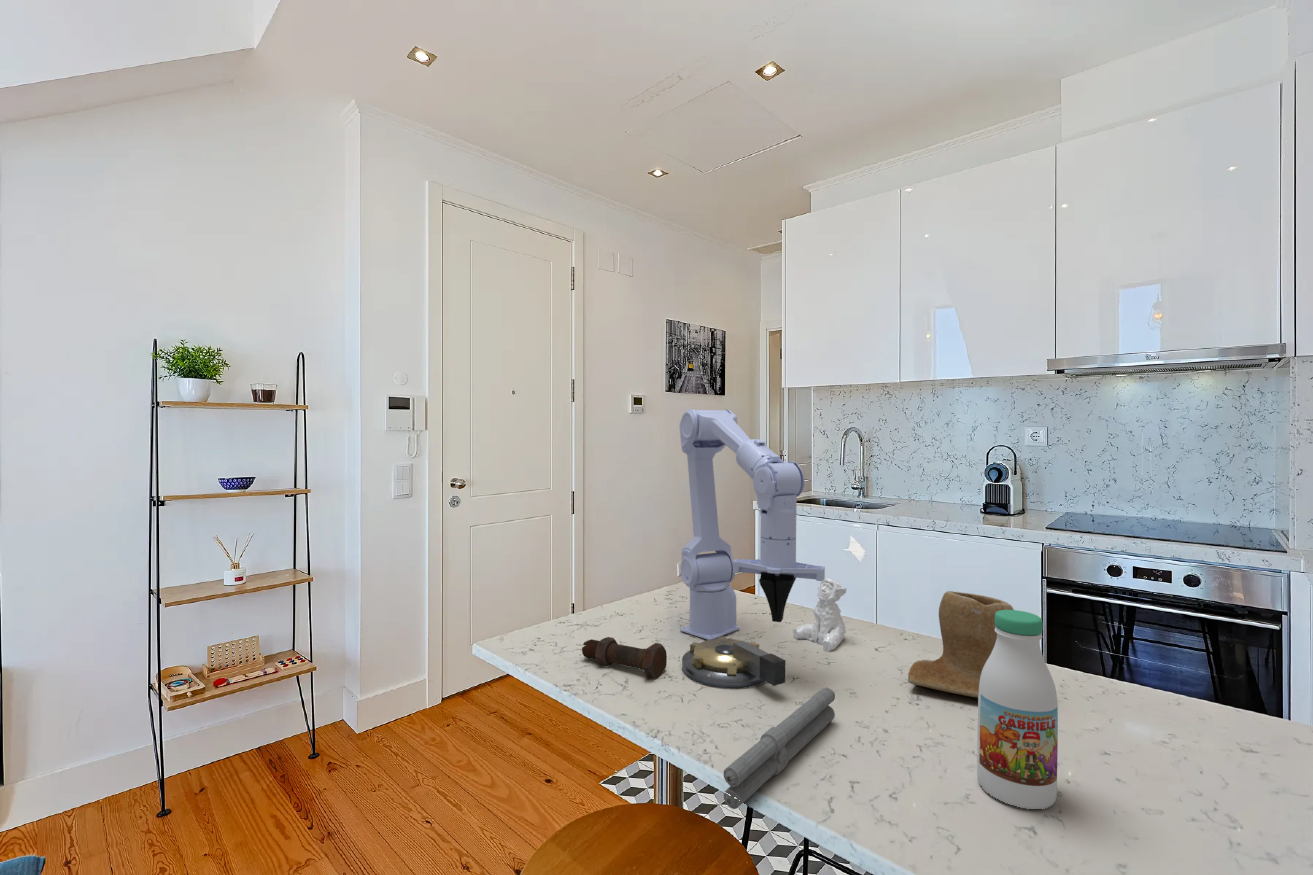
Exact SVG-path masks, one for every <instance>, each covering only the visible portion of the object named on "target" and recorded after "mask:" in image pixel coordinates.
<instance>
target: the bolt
mask: <svg viewBox="0 0 1313 875" xmlns="http://www.w3.org/2000/svg"><path fill="white" fill-rule="evenodd" d="M582 645H583V646H582V648H581V652H582V653H581V654H582V655H583V656H584V658H587V659H591V660H595V661H596V663H597V664H598V665H599V666H600V667H604V666H605V667H606V668H607V666H608V667H610V666H612V665H614V664H615V665H619V666H623V667H629V668H634V669H638V670H641V671H643V672H644V675H645V677H646V679H649V680H654V681H655V680H656V679H659V678H660V677H661V676H663V674H664V672H665V670H666V669H667V664H668V663H667V662H668V660H667V658H668V656H667V650H666V648H665V647H664V645H663V643H661V642H660V643H658V642H654V643H653V644H651V645H650V646H648V647H647V648H640V647H636V646H635V647H634V646H630V645H626V644H625V645H624V644H619V643H618V642H617V640H616V639H615V637H611V636H607V637H604V638H602V639H600V640H598V639H597V640H596V639H587V640H586V641H584V642H583V644H582Z"/></svg>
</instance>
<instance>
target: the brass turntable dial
mask: <svg viewBox="0 0 1313 875" xmlns="http://www.w3.org/2000/svg"><path fill="white" fill-rule="evenodd" d="M689 650H690V653H691V654H694V656H692V666H694V667H695V668H701V667H703V668H706V669H709V670H712V671H717V672H727V675H736V672H744V671H750V672H752V673H753V674H755V675H757V676H759V677H760V679H762V680H764V681H766V682H765V683H767V684H769V685H771V686H773V687H775V686H778V685H783V684H786V671H787V670H786V662H787V661H786V659H784V658H782V657H780V656H777V655H775V654H774V653H769V652H767V651H765V650H763V649H761V648H760V644H759V643H757V642H755V641H753V642H748V641H745V640H740V639H734V638H727V636H721V637H718V638H716V639H712V640H707V639H706V640H704V641H703V640H702V641H701V642H695V641H694V642H691V644H690V645H689Z"/></svg>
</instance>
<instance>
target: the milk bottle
mask: <svg viewBox="0 0 1313 875" xmlns="http://www.w3.org/2000/svg"><path fill="white" fill-rule="evenodd" d="M1043 625H1044V624H1043V620H1042V618H1041V616H1038V615H1037V614H1035V613H1031V612H1028V611H1023V610H1017V609H1014V610H1000V611H997V612H996V613H995V632H996V633H997V639H996V643H995V646H994V648H993V651H992V653H991V655H990V656H989V658H988V660H987V661H986V663H985V665H984V667H983V670H982V673H981V676H980V682H979V696H978V698H977V700H978V701H977V702H978V703H977V738H976V739H977V741H976V742H977V744H976V745H977V747H976V748H977V749H976V750H977V754H976V756H977V757H976V763H977V766H976V768H977V769H976V772H977V773H976V774H977V781H978V783H979V786H980V787H981V786H982V787H981V789H983V791H984V792H985V793H987V794H988V793H989V794H990V795H989V794H988V795H989V796H991V797H992V796H993V797H992V798H994V797H995V798H996V800H997V799H999V800H1001V801H1004V802H1007V803H1009V804H1012V805H1014V806H1017V807H1016V808H1018V807H1021V808H1020V809H1023V808H1027V809H1026V810H1029V809H1042V810H1045V809H1044V808H1046V809H1049V808H1051V807H1052V806H1053V805H1054V804H1055V802H1056V800H1057V796H1058V795H1057V794H1058V793H1057V790H1058V751H1059V749H1058V742H1059V741H1058V740H1059V738H1058V736H1059V732H1058V731H1059V730H1058V728H1059V723H1058V720H1059V717H1058V716H1059V712H1058V711H1059V710H1058V707H1059V706H1058V694H1057V689H1056V688H1057V687H1056V685H1055V681H1054V679H1053V676H1052V675H1051V674H1052V673H1051V672H1050V670H1049V668H1048V666H1047V664H1046V661H1045V658H1044V656H1043V652H1042V649H1041V646H1040V645H1041V643H1040V642H1041V641H1040V640H1042V639H1043V635H1042V634H1043V629H1044V626H1043ZM995 798H994V799H995ZM999 800H998V801H999ZM1001 801H1000V802H1001ZM1051 805H1052V806H1051ZM1014 806H1013V807H1014ZM1050 806H1051V807H1050ZM1048 807H1049V808H1048Z"/></svg>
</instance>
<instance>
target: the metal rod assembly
mask: <svg viewBox="0 0 1313 875" xmlns="http://www.w3.org/2000/svg"><path fill="white" fill-rule="evenodd" d="M835 699H836V695H835V691H834V690H833V689H832V688H830V687H823V688H821V689H820V690H819V691H818V692H816V693H815V694H813V696H812V697H811V698H810V699H808V700H807V701H805V702H804V703H803V704H802V705H801V706H799V707H798V708H797V709H796V710H794V711H793V712H792V713H790V714H789V715H788V716H787V717H786V718H784V719H783V720H782V721H781V722H780V723H779V724H777V725H776V726H773V727H771V728H769V729H768V730H766V731H765V732H764V733H763V734H761V736H760V739H759V741H758V742H756V743H755V744H753V746H751V747H750V748H748V750H747V751H745V752H744V753H743V754H742V755H741V756H739V757H738V758H737V759H735V760H734V761H733V762H732V763H731V764H729V765H728V766H727V767H726V768H725V769H724V770H723V779H724V781H725V782H726V783H727V785H728V786H729V787H728V788H726V790H725V791H724V792H726V793H728V794H730V795H731V796H729V795H728V794H726V793H724V792H723V800H724V802H725V804H726V805H727V806H728V808H730V809H733V810H736V809H738V808H740V806H741V805H743V803H745V802H746V801H747V800H748V799H749V798H750V797H751V796H752V795H753V794H754V793H756V791H758V789H759V788H761V787H762V786H763V785H764V784H765V783H766V782H767V781H768V780H769V779H770V778H772V777H776V776H777V775H779V774H780V773H781V772H782V771H783V770H784V769H785V768H786V767H787V764H788V763H789V761H790V760H792V758H794V756H796V755H798V753H799V752H800V751H801V750H802V749H804V747H805V746H806V745H807V744H809V743H810V742H811V741H812V740H813V739H814V738H815V737H816V736H817V735H819V733H820V732H821V731H822V730H823V729H825V728H826V727H827V726H828V725H829V724H830V723H831V722H832V721H833V720H834V719H835V716H836V713H835V710H834V708H832V706H830V704H832V703H833V702H834V701H835ZM734 797H736V798H737V799H734ZM739 800H740V801H739Z"/></svg>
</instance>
